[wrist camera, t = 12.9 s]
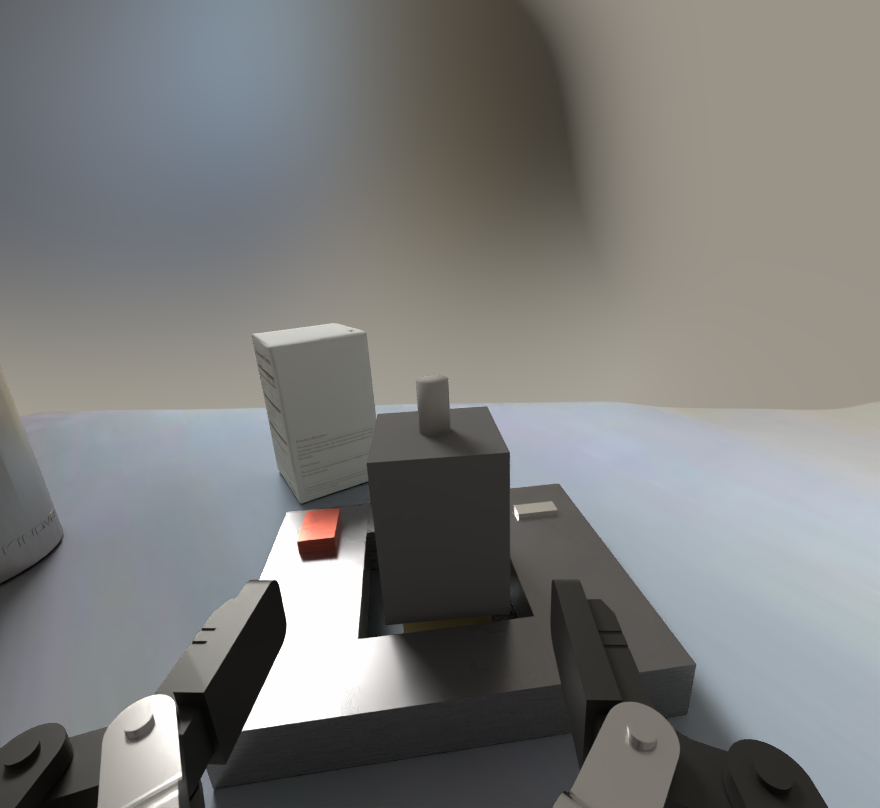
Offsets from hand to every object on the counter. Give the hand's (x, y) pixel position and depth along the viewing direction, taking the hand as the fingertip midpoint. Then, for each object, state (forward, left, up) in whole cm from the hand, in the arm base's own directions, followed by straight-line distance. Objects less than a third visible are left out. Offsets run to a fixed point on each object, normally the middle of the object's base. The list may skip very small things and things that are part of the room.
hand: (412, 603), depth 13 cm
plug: (+2, +8, -8) cm, 11 cm away
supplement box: (-7, +25, -8) cm, 27 cm away
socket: (+1, +8, -8) cm, 11 cm away
